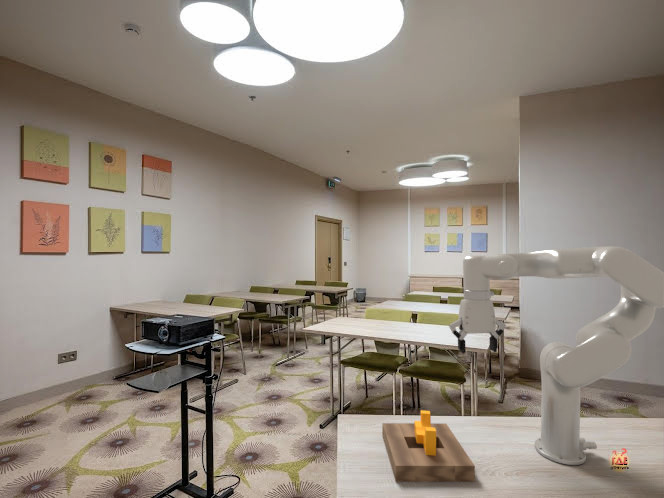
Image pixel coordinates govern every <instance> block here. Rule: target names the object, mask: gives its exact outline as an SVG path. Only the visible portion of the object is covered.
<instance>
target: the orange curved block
mask: <svg viewBox="0 0 664 498" xmlns="http://www.w3.org/2000/svg"><path fill="white" fill-rule="evenodd" d="M431 419H432V418H431V411H430V410H422V409H421V410H420V420H414V432H415V437H416V442H417V443H421V444H423V445H424V449H425V453H426V455H435V456H436V429H435V428H433V427H431V421H432V420H431Z"/></svg>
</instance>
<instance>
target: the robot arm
mask: <svg viewBox="0 0 664 498" xmlns="http://www.w3.org/2000/svg"><path fill="white" fill-rule="evenodd" d="M462 271H463V272H462V273H463V276H462V277H463V278H462V279H463V281H462V282H463V285H462V287H463V299H461V300H460V303H459V309H458V310H459V311H458V319H457V320H455V321H453V322H452V323H450V324H448V328H449V329H450V330H451V333H452V334H453V336H455V337H456V338H457V349H458V350H459V352H461V353H462V354H466V340H465V338H466V336H467V335H468V334H469V335H470V334H471V335H472V334H474V335H476V334H489V335H490V337H489V350H490V351H491V352H494V353H497V352H498V351H497V350H498V345H499V344H498V340H499V338H500V337H501V335H502V334H503V333H504V330H505V328H506V326H507V325H506V323H504V322H503V321H501V320H499V319H497V318H496V312H495V309H494V308H495V307H494V303H493V300H492V299H491V297H494V296H495V292H494V291H491V287H490V286H491V285H490V280H492V279H493V280H499V281H500V280H501V281H508V280H512V279H514V278H515V277H521V278H522V277H538V278H544V279H554V280H555V279H556V280H559V279H560V280H561V279H583V278H609V279H611V280H613V281H614V282H615V283H616V284H618V285H619V286H620V299H619V302H618V303H617V304H616V306H615V307H613V309H611V310H609V311H608V312H606V313H605V314H604V315H602V316H600V317H598V318H597V319H595V320H593V321H591V322H590V323H588V324H586V325H585V326H582V327H581V328H580V329H579V330H577V332H576V335H575V341H576V344H577V345H575V346H574V347H572V346H571V345H569V344H567V343H565V342H562V341H561V342H559V341H554V342H550V343H548V344H547V345H545V346H544V347H543V348H542V350H541V353H540V356H539V365H540V376H541V378H540V379H541V400H540V401H541V405H540V418H541V419H540V438H537V439H535V441H534V449H535V450H536V452H538V453H539V454H540V455H541V456H543V457H545V458H546V459H548V460H550V461H553V462H556V463H560V464H563V465H571V466H578V465H583V464H584V463H586V460H587V455H586V453H585V451H586V450H597V449H598V445H597V443H596V442H595V441H587V440H586V438H584V437H581V436H580V435H581V427H580V426H581V388H584V387H586V386H589V385H590V384H593V383H594V382H596V381H598V380H600V379H602V378H603V377H605V376H608V375H609V374H611V373H612V372H615V371H617V369H620V368H621V367H623V366H624V365H625V364H626V363H627V362H628V361H629V359H630V358H631V355H632V350H633V349H632V344H631V342H630V341H633V339H635V338H636V337H638V336H640V335H641V334H643V333H644V332H645V331H647V330H648V329H649V328H650V326H651V325H652V323H653V321H654V318H655V315H656V311H657V309H663V308H664V271H662V270H661V269H659V268H658V267H656V266H655V265H653V264H651V263H650V262H649V261H648V260H646V259H644V258H643V257H641V256H639V255H638V254H636V253H634V252H633V251H631V250H630V249H627V248H625V247H622V246H617V245H616V246H612V245H611V246H607V245H605V246H591V247H590V246H589V247H587V246H586V247H576V248H574V247H573V248H559V249H557V248H556V249H546V250H545V249H544V250H540V251H534V252H533V251H532V252H531V251H530V252H519V253H518V252H516V253H500V254H496V255H492V256H486V255H466V256H465V257H463V260H462ZM496 326H498V328H497V329H496ZM456 327H458V330H459V331H457V328H456Z"/></svg>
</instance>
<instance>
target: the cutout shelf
mask: <svg viewBox="0 0 664 498" xmlns="http://www.w3.org/2000/svg"><path fill="white" fill-rule="evenodd" d="M381 425H382V426H381V427H382V433H381V434H382V435H381V436H382V439H383V444H384V447H385V449H386V453H387V457H388V460H389V463H390V467H391V470H392V473H393V476H394V477H393V478H394V481H395V483H396V482H397V483H398V482H409V483H410V482H415V483H416V482H417V483H418V482H421V483H423V482H427V483H428V482H430V483H431V482H436V483H437V482H441V483H443V482H445V483H446V482H447V483H449V482H454V483H455V482H459V483H460V482H462V483H463V482H466V483H470V482H471V483H473V482H475V479H476V477H475V476H476V475H475V473H476V472H475V471H476V468H475V467H476V465H475V464H474V462H473V461H472V459H471V458H470V457H469V455H468V454H467V452H466V451H465V449H464V447H463V446H462V445H461V443H460V442H459V440H458V439H457V437H456V435H455V434H454V433H453V431H452V429H450V427H449V425H448V424H447V423H436V422H435V423H433V422H432V423H431V427H433V428H435V429H436V456H435V455H426V453H425V449H424V445H423V444H421V443H417V442H416V437H415V432H414V423H412V422H411V423H410V422H409V423H408V422H407V423H406V422H405V423H404V422H401V423H397V422H395V423H394V422H393V423H392V422H388V423H387V422H385V423H382V424H381Z"/></svg>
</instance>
